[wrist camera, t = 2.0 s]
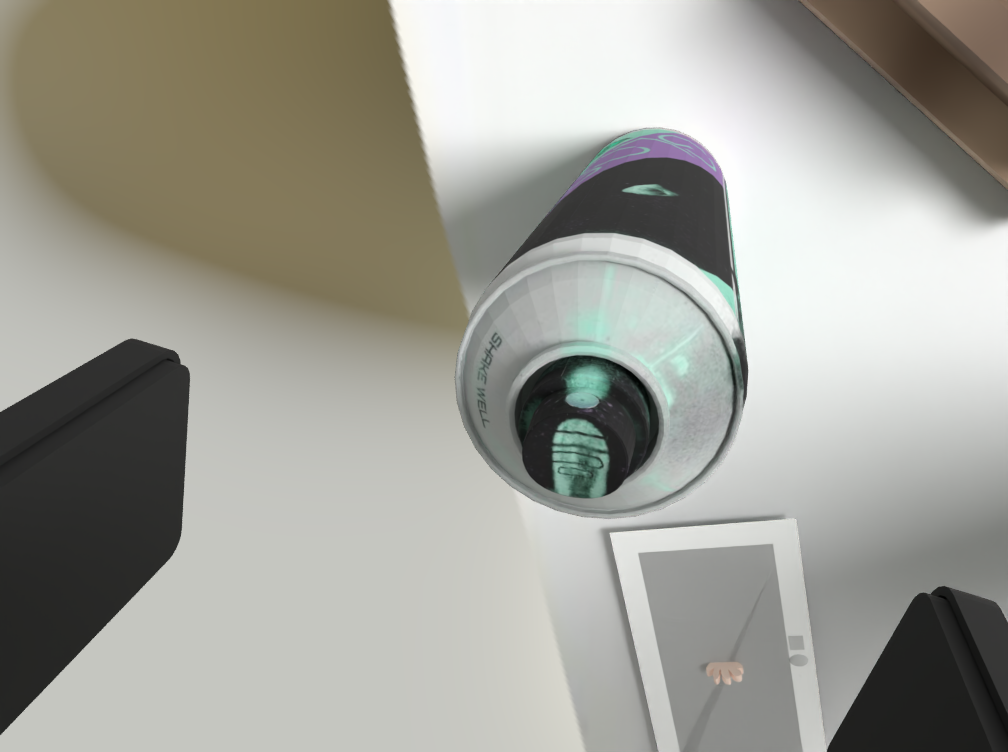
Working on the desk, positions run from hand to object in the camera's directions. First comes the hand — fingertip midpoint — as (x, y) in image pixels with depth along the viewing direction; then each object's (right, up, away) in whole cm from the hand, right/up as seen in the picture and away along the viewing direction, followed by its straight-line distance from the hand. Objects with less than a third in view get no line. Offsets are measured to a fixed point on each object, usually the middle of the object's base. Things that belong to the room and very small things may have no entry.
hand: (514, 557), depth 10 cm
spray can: (+5, +9, +20) cm, 23 cm away
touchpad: (+10, -10, +28) cm, 32 cm away
